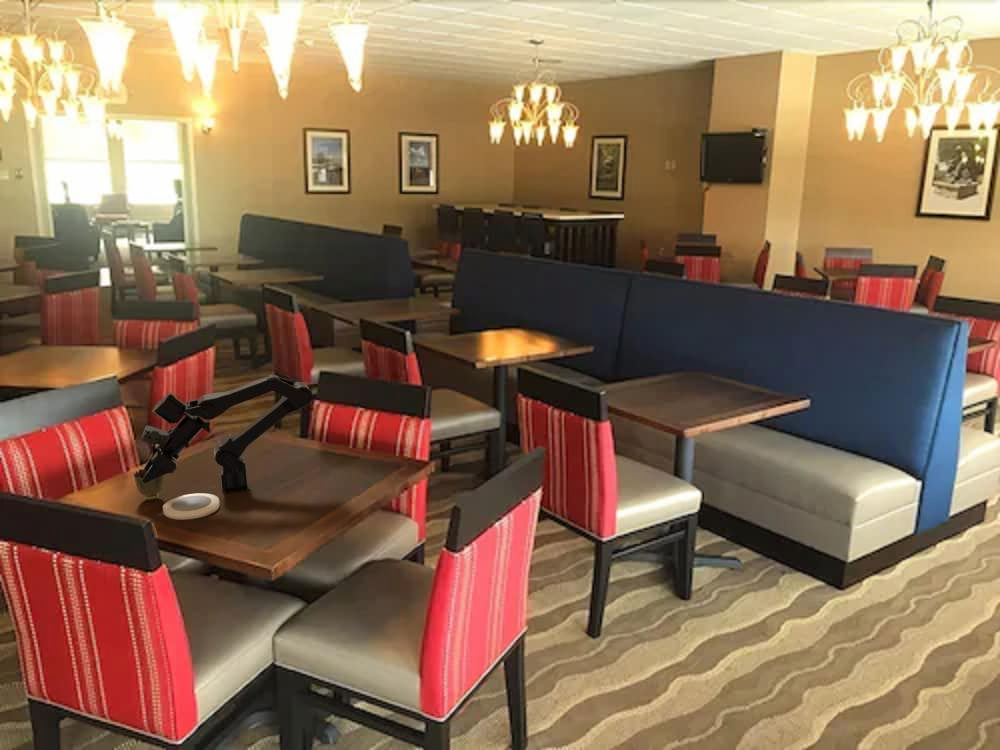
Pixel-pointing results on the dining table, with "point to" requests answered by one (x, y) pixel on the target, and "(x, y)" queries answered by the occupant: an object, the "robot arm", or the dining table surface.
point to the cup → (148, 485)
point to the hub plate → (191, 506)
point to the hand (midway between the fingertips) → (143, 477)
